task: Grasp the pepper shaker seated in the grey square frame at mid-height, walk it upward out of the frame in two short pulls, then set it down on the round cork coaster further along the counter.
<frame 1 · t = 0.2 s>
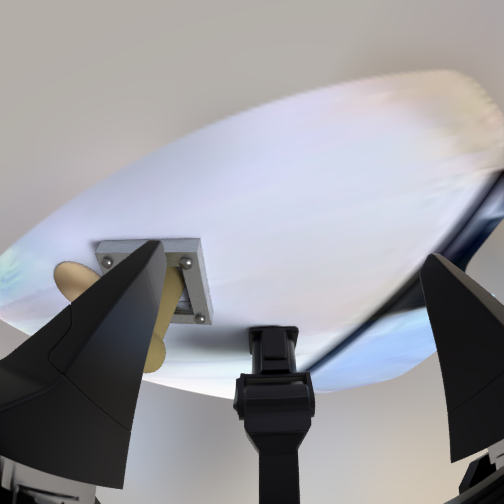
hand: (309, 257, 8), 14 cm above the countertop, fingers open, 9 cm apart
grey square frame: (159, 279, 29), on the countertop
pepper shaker: (159, 277, 30), resting in grey square frame
cork coaster: (82, 287, 31), on the countertop
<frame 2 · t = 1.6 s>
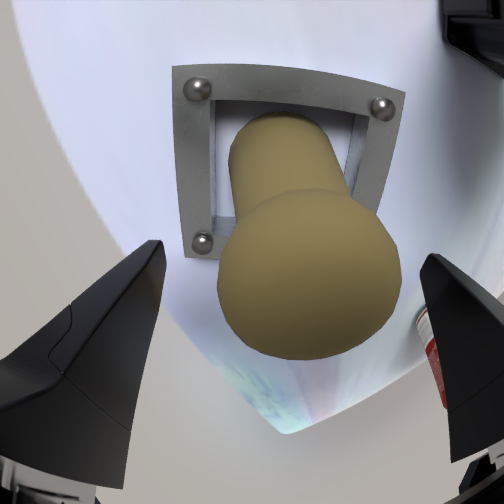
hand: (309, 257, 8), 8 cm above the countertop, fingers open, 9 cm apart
grey square frame: (282, 163, 15), on the countertop
pepper shaker: (281, 161, 15), resting in grey square frame
soda can: (439, 306, 24), on the countertop
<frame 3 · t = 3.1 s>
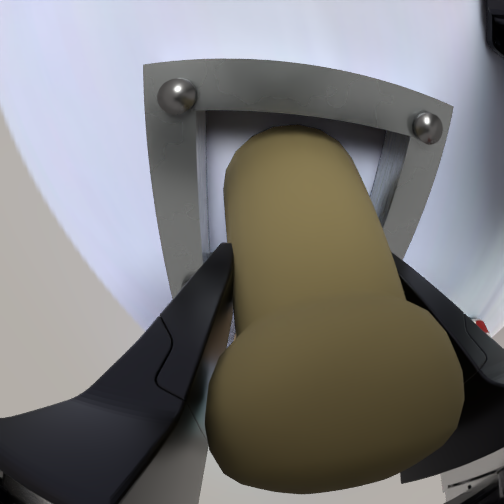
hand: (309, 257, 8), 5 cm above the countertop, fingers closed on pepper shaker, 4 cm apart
grey square frame: (292, 190, 12), on the countertop
pepper shaker: (291, 188, 12), resting in grey square frame, touching gripper
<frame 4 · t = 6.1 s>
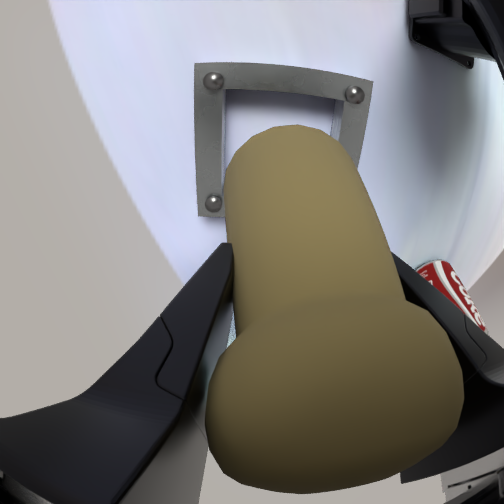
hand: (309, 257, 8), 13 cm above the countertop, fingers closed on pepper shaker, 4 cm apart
grey square frame: (277, 139, 18), on the countertop
pepper shaker: (291, 188, 12), point 8 cm above the countertop, touching gripper
soda can: (425, 276, 27), on the countertop
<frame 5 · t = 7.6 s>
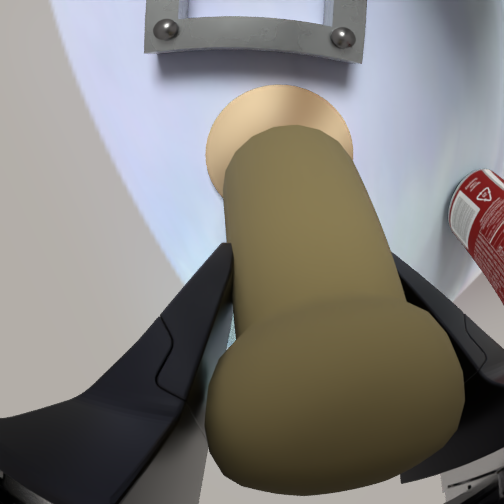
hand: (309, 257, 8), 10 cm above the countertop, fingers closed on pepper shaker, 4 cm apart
pepper shaker: (291, 189, 12), point 5 cm above the countertop, touching gripper
cork coaster: (280, 155, 16), on the countertop
soda can: (470, 199, 17), on the countertop
when the fingers open (6 cm above the countertop, at t = 9.0 s): pepper shaker stays where it is, resting on cork coaster.
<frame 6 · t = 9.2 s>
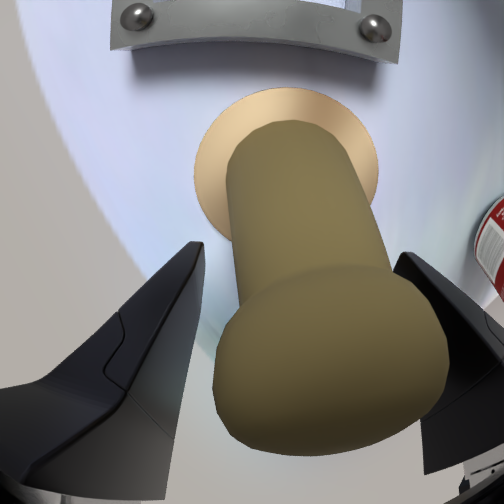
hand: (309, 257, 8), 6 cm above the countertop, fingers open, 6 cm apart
pepper shaker: (290, 179, 13), resting on cork coaster
cork coaster: (288, 178, 13), on the countertop
soda can: (496, 223, 14), on the countertop
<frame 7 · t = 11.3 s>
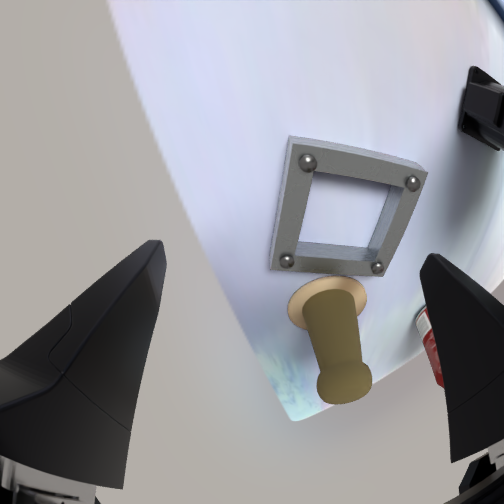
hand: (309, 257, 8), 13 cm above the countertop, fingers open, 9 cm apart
grey square frame: (342, 209, 22), on the countertop
pepper shaker: (328, 306, 29), resting on cork coaster
cork coaster: (327, 304, 30), on the countertop
soda can: (433, 308, 31), on the countertop
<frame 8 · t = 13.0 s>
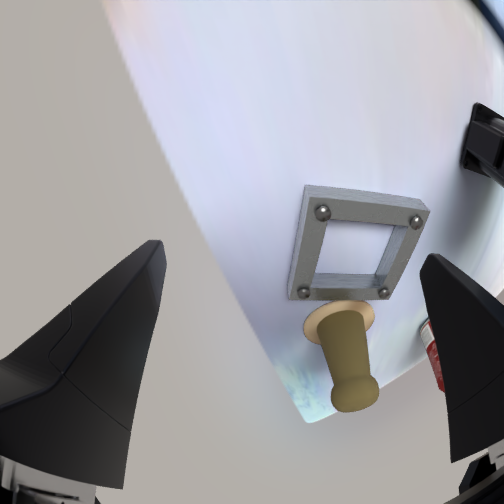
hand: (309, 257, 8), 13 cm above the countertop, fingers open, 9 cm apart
grey square frame: (353, 244, 24), on the countertop
pepper shaker: (340, 324, 32), resting on cork coaster
cork coaster: (339, 322, 32), on the countertop
soda can: (436, 319, 33), on the countertop
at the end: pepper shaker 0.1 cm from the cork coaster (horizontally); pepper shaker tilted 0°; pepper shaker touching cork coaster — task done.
